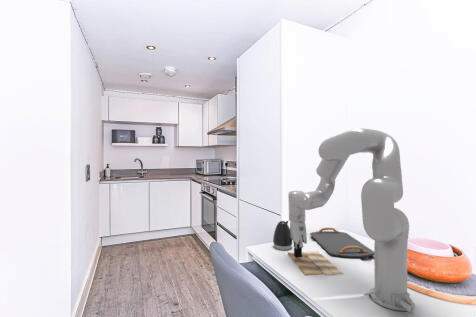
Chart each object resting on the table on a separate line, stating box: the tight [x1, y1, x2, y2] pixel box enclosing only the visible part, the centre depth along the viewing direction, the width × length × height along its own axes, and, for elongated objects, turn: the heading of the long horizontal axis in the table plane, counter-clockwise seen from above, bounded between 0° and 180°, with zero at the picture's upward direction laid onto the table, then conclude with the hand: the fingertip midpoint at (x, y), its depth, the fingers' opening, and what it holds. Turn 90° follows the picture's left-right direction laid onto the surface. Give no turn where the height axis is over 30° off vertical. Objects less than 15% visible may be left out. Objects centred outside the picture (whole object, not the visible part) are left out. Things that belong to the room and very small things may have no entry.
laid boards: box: [302, 251, 344, 276], centre depth 110 cm, size 24×8×1 cm, turn 7°
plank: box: [287, 252, 324, 276], centre depth 109 cm, size 22×8×1 cm, turn 7°
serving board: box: [309, 227, 374, 259], centre depth 133 cm, size 39×23×6 cm, turn 1°
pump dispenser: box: [272, 220, 293, 251], centre depth 129 cm, size 10×10×15 cm
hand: (298, 256), depth 113 cm, fingers closed
